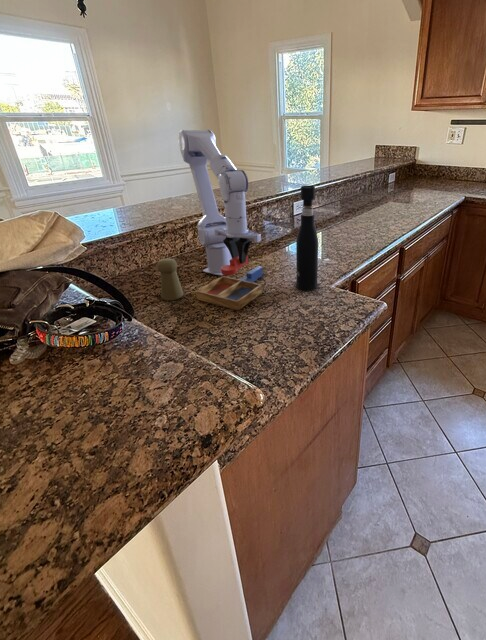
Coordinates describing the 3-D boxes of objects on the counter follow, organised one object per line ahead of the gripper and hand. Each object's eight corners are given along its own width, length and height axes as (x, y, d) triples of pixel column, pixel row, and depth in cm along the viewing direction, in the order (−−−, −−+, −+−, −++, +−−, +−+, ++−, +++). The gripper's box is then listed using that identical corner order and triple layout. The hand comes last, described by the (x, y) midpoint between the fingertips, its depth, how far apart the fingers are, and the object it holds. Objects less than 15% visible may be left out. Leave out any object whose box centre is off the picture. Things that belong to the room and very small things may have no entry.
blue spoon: (254, 273, 117) (254, 265, 116) (266, 276, 115) (265, 267, 114) (236, 285, 109) (235, 276, 107) (248, 288, 107) (247, 279, 106)
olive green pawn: (176, 301, 99) (170, 264, 94) (156, 299, 100) (149, 262, 95) (187, 292, 104) (181, 257, 99) (168, 290, 105) (162, 255, 100)
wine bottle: (320, 284, 110) (323, 186, 97) (311, 292, 105) (313, 189, 92) (302, 280, 113) (302, 184, 100) (292, 288, 107) (291, 187, 94)
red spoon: (239, 261, 108) (238, 252, 106) (251, 264, 106) (251, 254, 105) (218, 273, 99) (217, 263, 98) (231, 276, 98) (230, 266, 96)
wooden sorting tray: (223, 283, 110) (222, 275, 109) (262, 292, 104) (262, 284, 103) (196, 299, 100) (195, 291, 99) (238, 310, 95) (237, 301, 93)
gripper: (205, 216, 97) (210, 262, 103) (249, 222, 92) (252, 270, 98) (221, 211, 103) (225, 254, 109) (264, 216, 98) (266, 262, 104)
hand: (239, 261), depth 104 cm, fingers closed on red spoon, 2 cm apart
